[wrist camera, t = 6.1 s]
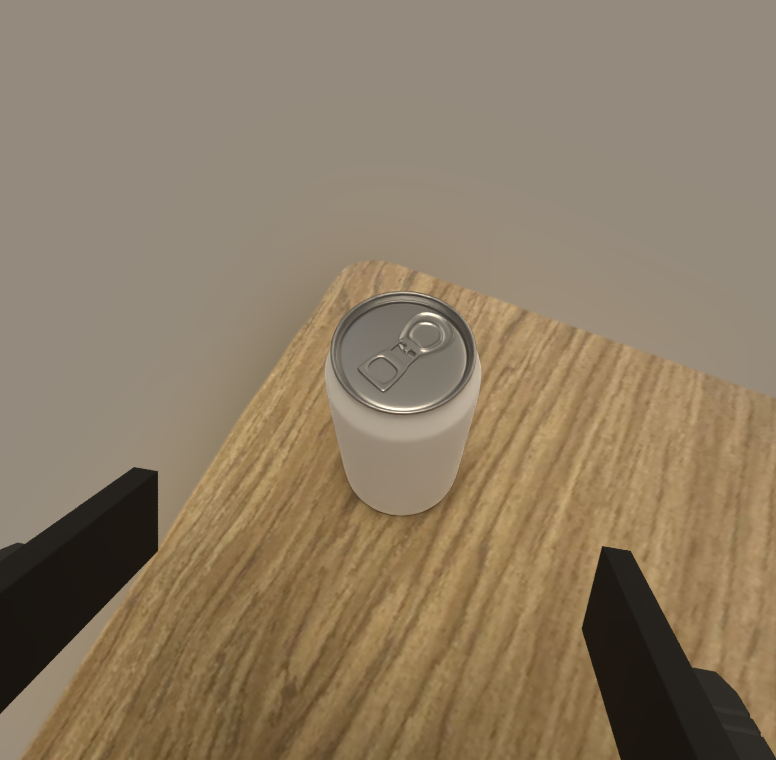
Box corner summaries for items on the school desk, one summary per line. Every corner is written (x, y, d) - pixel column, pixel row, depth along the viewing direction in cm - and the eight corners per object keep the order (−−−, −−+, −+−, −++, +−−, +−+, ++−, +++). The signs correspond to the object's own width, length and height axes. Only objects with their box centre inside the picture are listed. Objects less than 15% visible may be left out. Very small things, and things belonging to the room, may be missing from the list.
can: (481, 463, 31) (523, 348, 21) (400, 543, 29) (402, 460, 19) (401, 392, 34) (403, 257, 23) (321, 461, 31) (284, 347, 21)
